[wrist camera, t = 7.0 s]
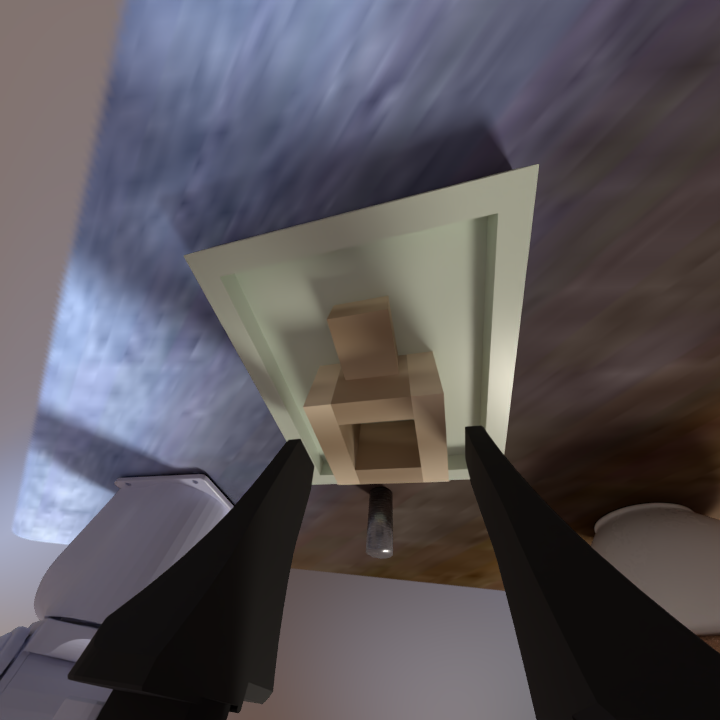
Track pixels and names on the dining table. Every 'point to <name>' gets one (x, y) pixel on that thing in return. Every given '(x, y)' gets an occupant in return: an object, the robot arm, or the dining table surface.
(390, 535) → the post
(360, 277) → the sage tray
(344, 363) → the wooden frame with tab
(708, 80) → the dining table surface
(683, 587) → the lidded jar
